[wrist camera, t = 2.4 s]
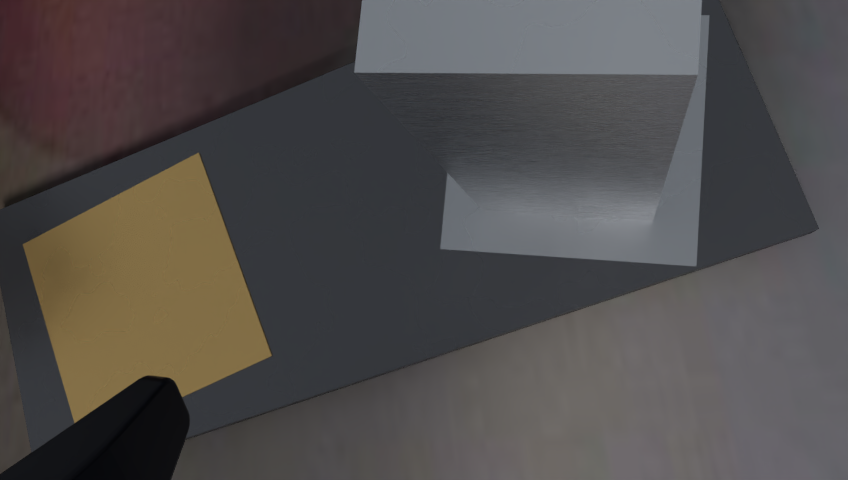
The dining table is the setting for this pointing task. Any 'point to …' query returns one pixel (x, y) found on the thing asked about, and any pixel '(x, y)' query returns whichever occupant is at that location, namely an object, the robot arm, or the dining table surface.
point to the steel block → (539, 95)
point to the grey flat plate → (346, 249)
